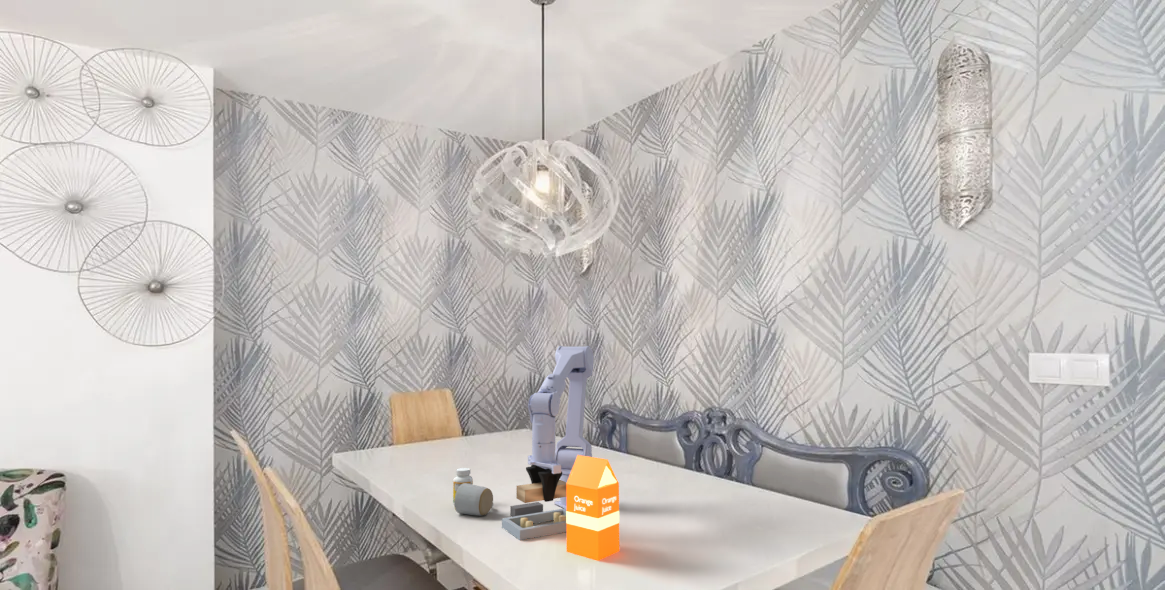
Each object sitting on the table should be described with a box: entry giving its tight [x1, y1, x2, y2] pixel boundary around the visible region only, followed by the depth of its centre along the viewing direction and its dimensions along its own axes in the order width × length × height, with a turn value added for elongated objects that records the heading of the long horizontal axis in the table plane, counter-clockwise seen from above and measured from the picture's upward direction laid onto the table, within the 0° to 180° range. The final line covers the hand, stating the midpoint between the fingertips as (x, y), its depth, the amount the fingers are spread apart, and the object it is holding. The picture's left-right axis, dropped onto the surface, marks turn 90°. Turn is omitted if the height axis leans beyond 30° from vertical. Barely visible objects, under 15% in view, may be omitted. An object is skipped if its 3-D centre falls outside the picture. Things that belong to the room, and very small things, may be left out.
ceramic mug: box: [453, 483, 494, 517], centre depth 158 cm, size 11×8×8 cm
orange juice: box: [566, 455, 620, 562], centre depth 129 cm, size 8×9×20 cm
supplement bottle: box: [452, 467, 474, 505], centre depth 166 cm, size 5×5×10 cm
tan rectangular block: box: [515, 479, 567, 504], centre depth 145 cm, size 12×5×3 cm, turn 120°
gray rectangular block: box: [509, 501, 544, 517], centre depth 155 cm, size 8×3×2 cm, turn 120°
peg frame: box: [501, 508, 567, 541], centre depth 144 cm, size 17×11×2 cm, turn 120°
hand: (543, 498), depth 145 cm, fingers closed on tan rectangular block, 5 cm apart
